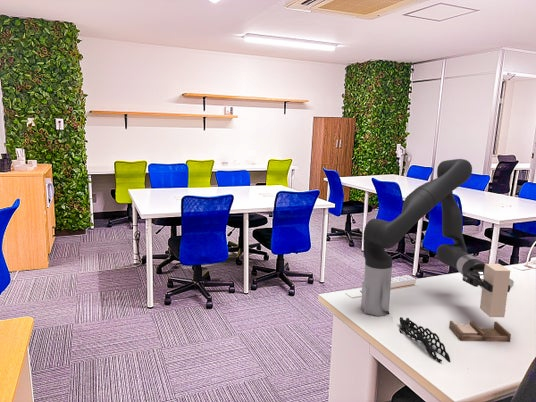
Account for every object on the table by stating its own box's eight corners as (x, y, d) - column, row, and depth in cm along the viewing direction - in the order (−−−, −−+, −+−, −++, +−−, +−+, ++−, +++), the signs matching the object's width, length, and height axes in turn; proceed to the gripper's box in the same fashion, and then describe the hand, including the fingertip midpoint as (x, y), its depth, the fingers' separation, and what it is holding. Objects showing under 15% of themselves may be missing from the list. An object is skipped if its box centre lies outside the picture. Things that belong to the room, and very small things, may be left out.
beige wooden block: (489, 317, 122) (495, 270, 119) (479, 308, 128) (485, 263, 125) (504, 317, 122) (510, 270, 119) (493, 308, 128) (499, 263, 125)
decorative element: (453, 366, 111) (455, 347, 110) (437, 368, 110) (439, 348, 109) (407, 327, 133) (408, 311, 132) (393, 329, 131) (394, 312, 130)
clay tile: (462, 338, 123) (463, 332, 123) (454, 329, 129) (455, 323, 129) (477, 338, 123) (477, 332, 123) (468, 329, 129) (469, 324, 128)
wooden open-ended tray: (459, 344, 122) (461, 333, 121) (448, 331, 130) (449, 320, 129) (509, 345, 122) (510, 334, 121) (495, 331, 130) (496, 321, 129)
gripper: (452, 258, 137) (477, 277, 120) (494, 258, 136) (525, 277, 119) (450, 278, 138) (474, 300, 121) (492, 279, 138) (522, 301, 121)
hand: (499, 289), depth 120 cm, fingers closed on beige wooden block, 4 cm apart
